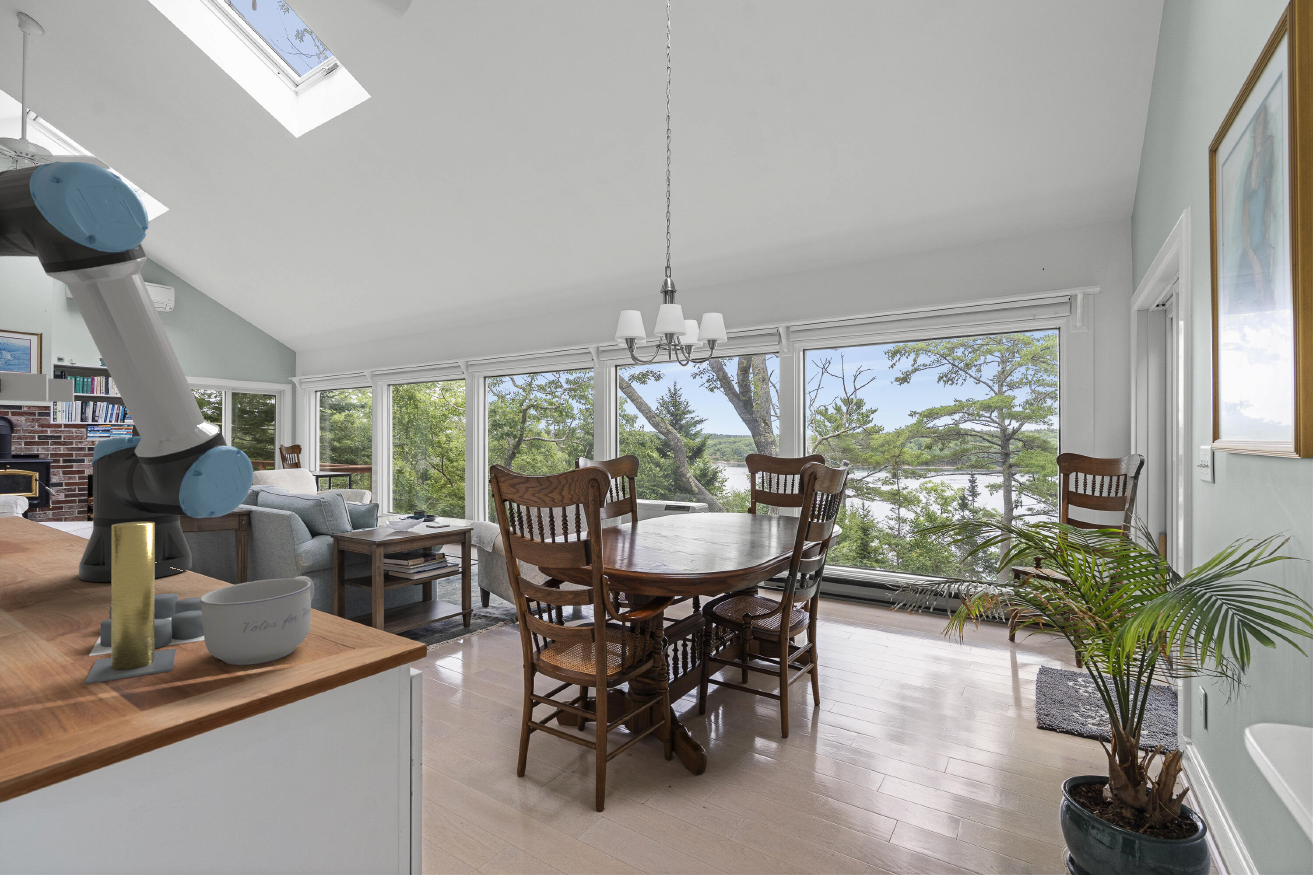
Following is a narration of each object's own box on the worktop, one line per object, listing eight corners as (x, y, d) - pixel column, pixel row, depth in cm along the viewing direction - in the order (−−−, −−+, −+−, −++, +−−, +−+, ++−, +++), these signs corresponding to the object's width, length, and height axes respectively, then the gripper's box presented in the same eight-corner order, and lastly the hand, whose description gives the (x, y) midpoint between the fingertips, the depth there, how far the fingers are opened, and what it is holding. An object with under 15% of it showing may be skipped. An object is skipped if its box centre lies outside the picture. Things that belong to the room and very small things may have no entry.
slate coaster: (96, 664, 71) (96, 659, 71) (176, 653, 75) (176, 648, 75) (85, 687, 65) (85, 681, 65) (172, 673, 69) (172, 668, 69)
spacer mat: (110, 620, 86) (110, 598, 86) (211, 608, 92) (211, 588, 92) (87, 661, 72) (87, 635, 72) (208, 644, 78) (208, 620, 78)
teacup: (247, 681, 68) (247, 605, 67) (175, 665, 71) (176, 593, 71) (352, 640, 81) (353, 576, 80) (287, 628, 84) (288, 567, 84)
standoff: (113, 661, 70) (114, 523, 70) (155, 655, 72) (156, 520, 72) (109, 672, 67) (109, 527, 67) (153, 665, 69) (153, 524, 69)
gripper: (-173, 418, 72) (82, 421, 83) (-338, 421, 51) (33, 425, 62) (-174, 349, 71) (82, 362, 83) (-340, 324, 51) (33, 346, 62)
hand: (62, 389), depth 73 cm, fingers open, 13 cm apart
